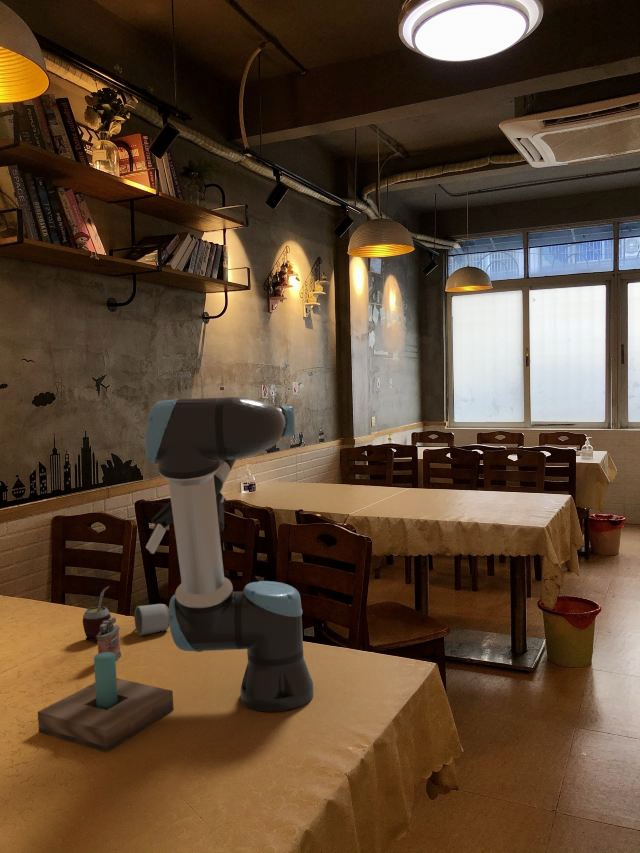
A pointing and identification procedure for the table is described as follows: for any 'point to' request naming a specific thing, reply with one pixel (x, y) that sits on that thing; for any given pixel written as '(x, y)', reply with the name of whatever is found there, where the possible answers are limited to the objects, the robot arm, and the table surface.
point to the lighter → (109, 638)
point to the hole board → (105, 715)
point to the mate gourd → (95, 619)
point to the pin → (105, 680)
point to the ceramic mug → (151, 618)
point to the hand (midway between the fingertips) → (172, 552)
